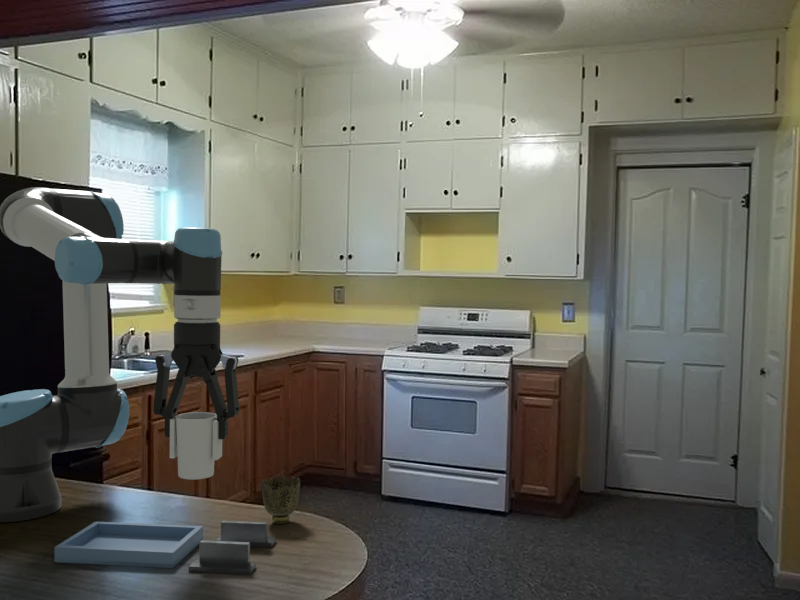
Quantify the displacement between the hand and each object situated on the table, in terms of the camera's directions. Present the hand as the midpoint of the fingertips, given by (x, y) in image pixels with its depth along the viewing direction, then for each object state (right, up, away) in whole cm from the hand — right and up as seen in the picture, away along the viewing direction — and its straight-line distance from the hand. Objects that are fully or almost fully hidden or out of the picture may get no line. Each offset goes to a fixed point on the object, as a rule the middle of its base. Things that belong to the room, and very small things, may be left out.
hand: (196, 457), depth 126 cm
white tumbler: (0, -3, 0) cm, 3 cm away
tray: (-11, -16, +1) cm, 20 cm away
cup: (+12, -16, +17) cm, 26 cm away
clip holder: (+7, -16, -1) cm, 18 cm away
